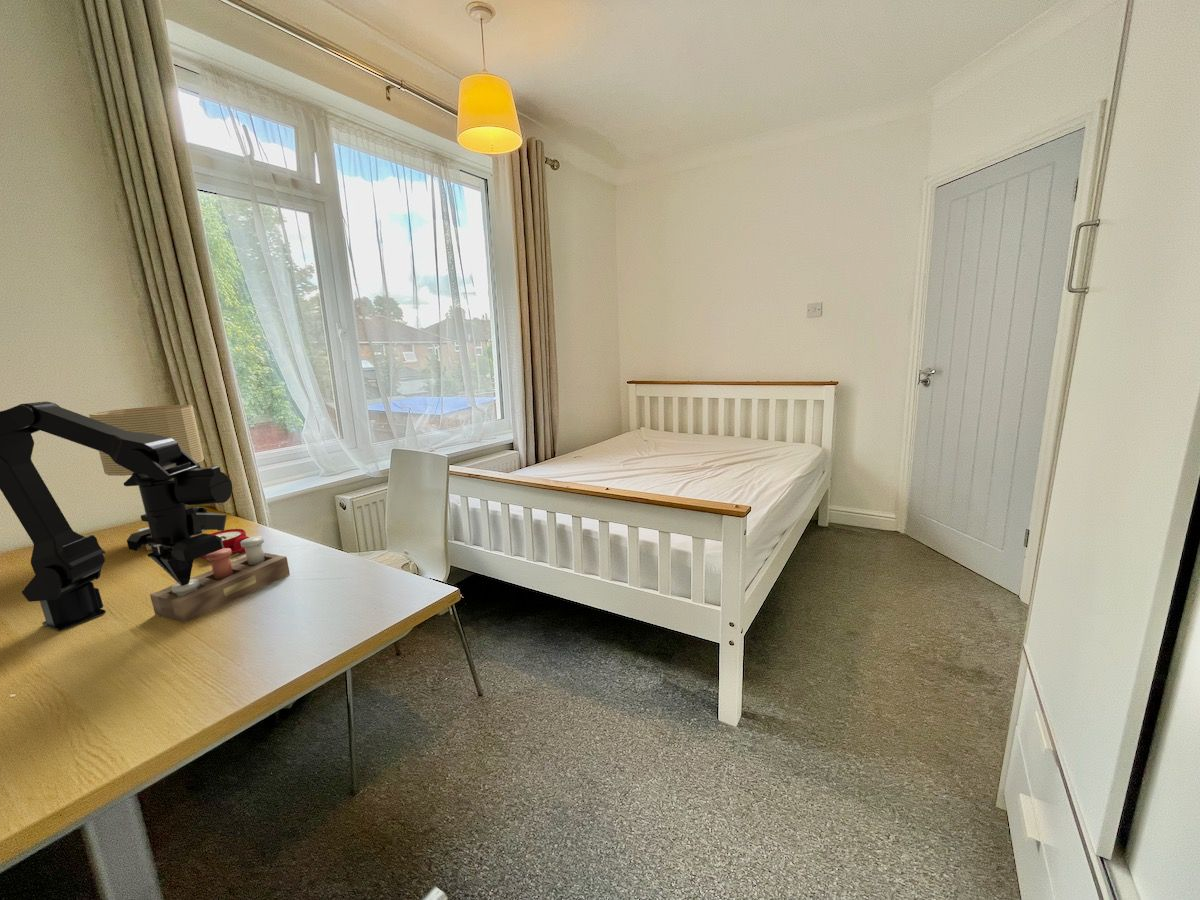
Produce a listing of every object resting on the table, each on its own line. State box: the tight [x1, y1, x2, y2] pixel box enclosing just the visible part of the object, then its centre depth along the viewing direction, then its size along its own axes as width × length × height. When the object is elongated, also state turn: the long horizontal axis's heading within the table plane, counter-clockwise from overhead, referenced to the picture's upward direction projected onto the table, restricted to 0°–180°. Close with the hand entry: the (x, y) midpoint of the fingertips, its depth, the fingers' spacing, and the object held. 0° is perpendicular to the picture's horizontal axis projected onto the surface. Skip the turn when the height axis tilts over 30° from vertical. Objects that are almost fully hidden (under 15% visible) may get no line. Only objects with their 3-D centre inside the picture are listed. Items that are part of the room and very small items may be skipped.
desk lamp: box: [88, 404, 208, 551], centre depth 126 cm, size 20×20×35 cm
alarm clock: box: [200, 528, 251, 560], centre depth 118 cm, size 10×6×15 cm
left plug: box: [171, 578, 200, 597], centre depth 91 cm, size 4×4×5 cm
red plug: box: [205, 548, 233, 579], centre depth 96 cm, size 4×4×5 cm
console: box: [149, 552, 291, 624], centre depth 97 cm, size 20×9×4 cm, turn 158°
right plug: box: [240, 535, 265, 565], centre depth 102 cm, size 4×4×5 cm
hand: (184, 584), depth 90 cm, fingers closed, pressing on left plug
